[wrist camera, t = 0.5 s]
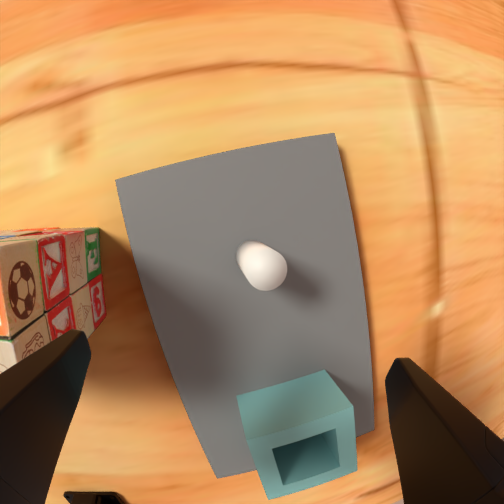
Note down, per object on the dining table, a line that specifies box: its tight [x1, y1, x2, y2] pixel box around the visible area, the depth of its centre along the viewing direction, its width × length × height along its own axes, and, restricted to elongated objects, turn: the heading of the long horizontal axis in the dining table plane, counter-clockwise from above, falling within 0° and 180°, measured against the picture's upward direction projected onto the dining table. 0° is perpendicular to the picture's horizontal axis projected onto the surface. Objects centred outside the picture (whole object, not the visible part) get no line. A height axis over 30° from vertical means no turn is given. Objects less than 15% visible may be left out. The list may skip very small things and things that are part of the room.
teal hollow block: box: [236, 370, 357, 500], centre depth 19 cm, size 6×6×5 cm
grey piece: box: [115, 133, 374, 478], centre depth 19 cm, size 24×14×6 cm, turn 13°
